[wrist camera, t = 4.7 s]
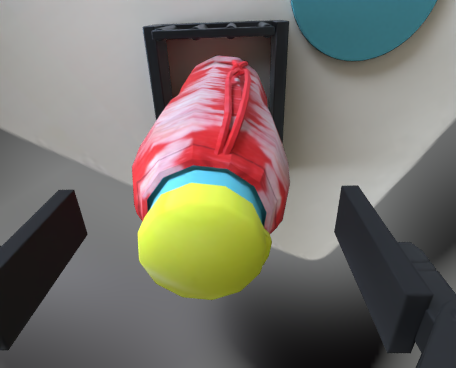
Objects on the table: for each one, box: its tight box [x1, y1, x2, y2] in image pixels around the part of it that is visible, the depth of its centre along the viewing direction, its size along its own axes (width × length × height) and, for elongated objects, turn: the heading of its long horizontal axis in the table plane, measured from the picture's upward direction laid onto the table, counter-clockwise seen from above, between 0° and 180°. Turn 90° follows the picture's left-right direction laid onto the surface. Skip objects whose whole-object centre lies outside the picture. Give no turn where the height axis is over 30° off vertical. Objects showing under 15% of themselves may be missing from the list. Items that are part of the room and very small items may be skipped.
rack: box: [143, 20, 289, 143], centre depth 30 cm, size 12×15×7 cm
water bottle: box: [132, 55, 290, 300], centre depth 22 cm, size 12×8×25 cm, turn 159°
